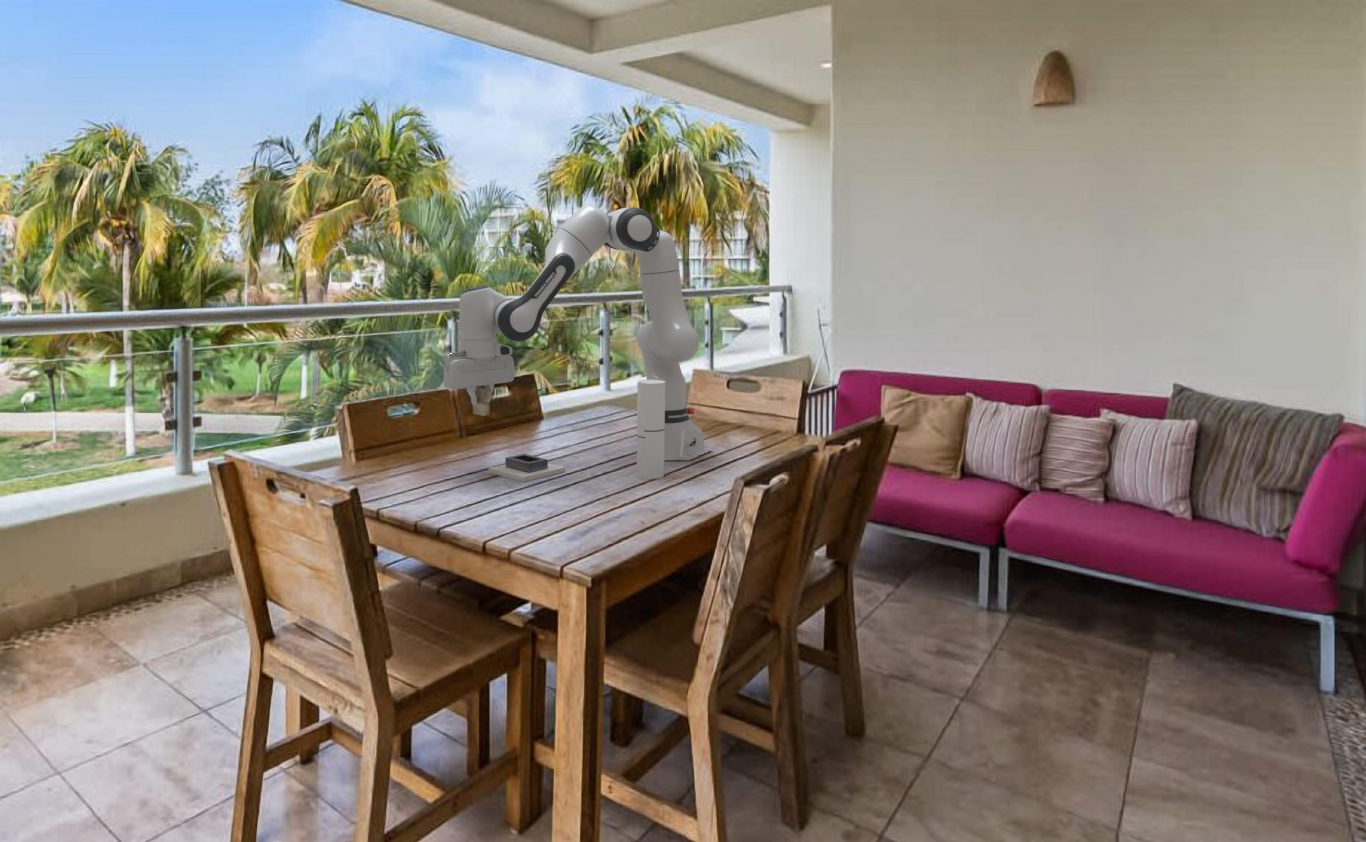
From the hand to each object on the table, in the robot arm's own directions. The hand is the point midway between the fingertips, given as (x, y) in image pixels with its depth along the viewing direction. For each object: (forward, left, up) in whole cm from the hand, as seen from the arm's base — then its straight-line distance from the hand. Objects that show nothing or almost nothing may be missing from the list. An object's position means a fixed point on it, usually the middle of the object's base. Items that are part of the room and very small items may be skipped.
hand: (481, 402), depth 213 cm
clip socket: (-7, +10, -17) cm, 21 cm away
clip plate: (-7, +10, -18) cm, 22 cm away
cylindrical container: (-27, +36, -19) cm, 48 cm away
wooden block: (0, 0, -3) cm, 3 cm away
